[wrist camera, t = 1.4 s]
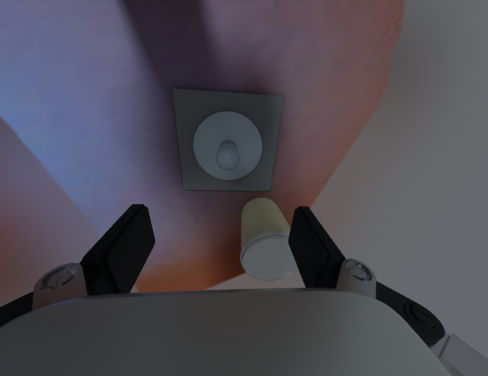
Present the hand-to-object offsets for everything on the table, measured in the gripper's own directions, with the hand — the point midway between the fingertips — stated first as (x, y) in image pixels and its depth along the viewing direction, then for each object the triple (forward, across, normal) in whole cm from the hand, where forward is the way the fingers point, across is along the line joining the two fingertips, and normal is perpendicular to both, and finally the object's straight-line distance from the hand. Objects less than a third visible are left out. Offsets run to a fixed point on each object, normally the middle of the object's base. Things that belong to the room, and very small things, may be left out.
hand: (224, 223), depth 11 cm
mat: (+20, 0, 0) cm, 20 cm away
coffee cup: (+20, -7, +13) cm, 25 cm away
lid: (+20, 0, 0) cm, 20 cm away
